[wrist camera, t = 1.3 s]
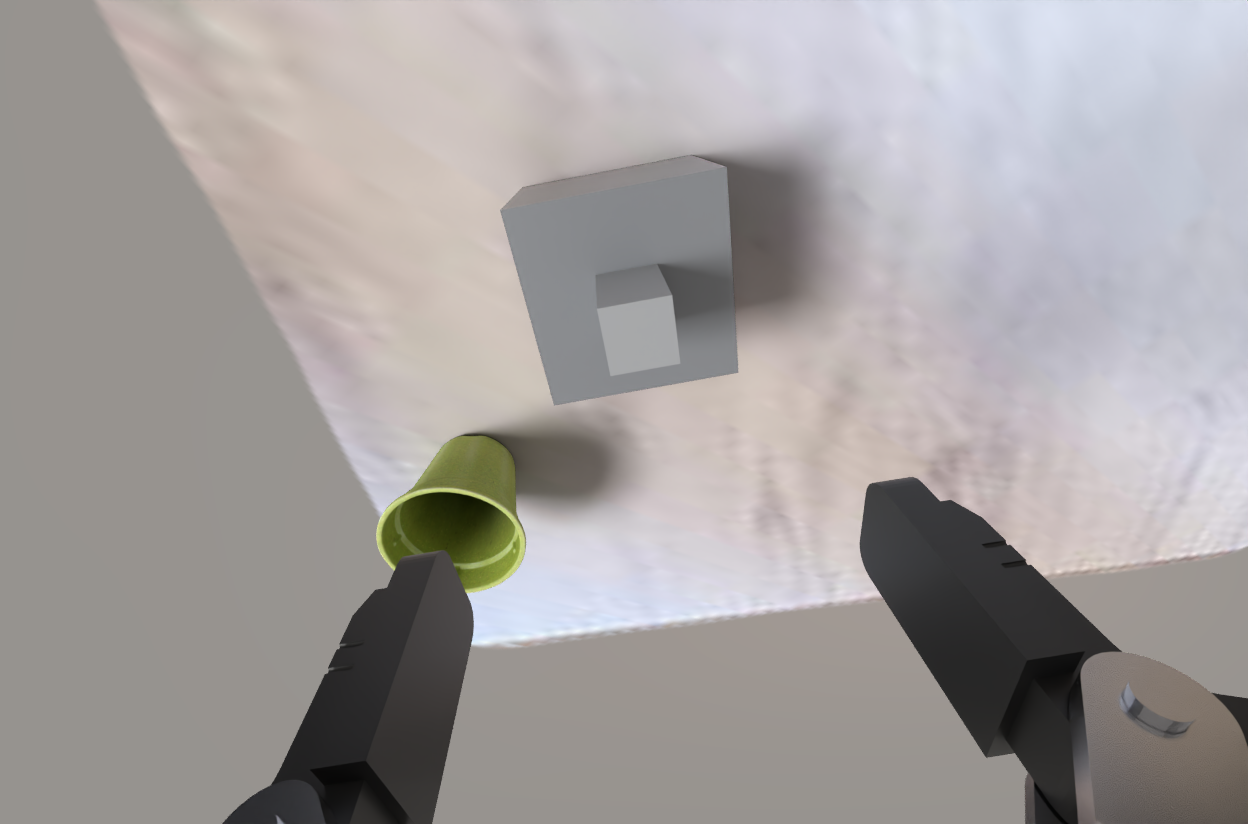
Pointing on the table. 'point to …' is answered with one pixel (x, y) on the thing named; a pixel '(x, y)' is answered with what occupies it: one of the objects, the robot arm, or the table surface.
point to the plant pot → (460, 514)
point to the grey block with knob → (628, 276)
